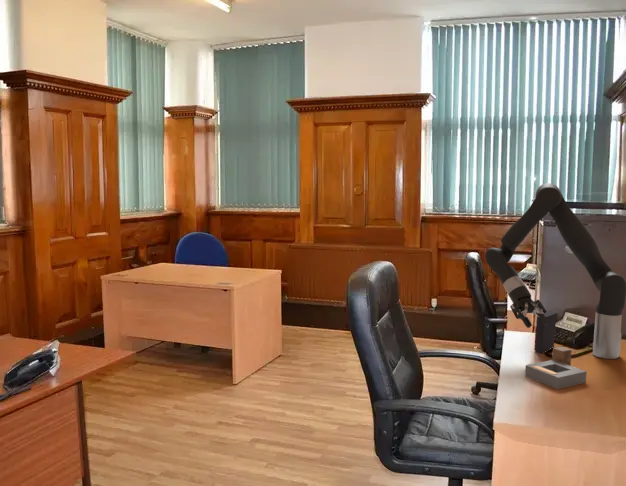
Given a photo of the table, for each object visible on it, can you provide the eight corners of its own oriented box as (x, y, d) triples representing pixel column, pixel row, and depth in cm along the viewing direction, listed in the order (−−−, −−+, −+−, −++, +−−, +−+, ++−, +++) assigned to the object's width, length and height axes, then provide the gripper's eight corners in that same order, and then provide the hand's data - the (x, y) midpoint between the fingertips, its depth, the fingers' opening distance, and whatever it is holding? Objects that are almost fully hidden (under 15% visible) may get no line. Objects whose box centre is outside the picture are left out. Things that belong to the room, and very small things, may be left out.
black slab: (545, 346, 251) (547, 310, 249) (555, 348, 248) (557, 312, 246) (533, 351, 243) (535, 315, 242) (543, 354, 240) (545, 317, 238)
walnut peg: (560, 367, 225) (561, 346, 224) (570, 371, 221) (571, 349, 220) (551, 369, 223) (552, 348, 222) (561, 372, 219) (563, 351, 218)
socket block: (552, 370, 221) (553, 359, 221) (585, 382, 209) (586, 370, 208) (525, 376, 215) (525, 364, 214) (557, 389, 202) (558, 377, 202)
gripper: (508, 286, 233) (530, 322, 224) (535, 283, 239) (557, 318, 231) (498, 297, 238) (518, 332, 230) (524, 294, 245) (545, 328, 236)
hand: (538, 325), depth 230 cm, fingers open, 8 cm apart
